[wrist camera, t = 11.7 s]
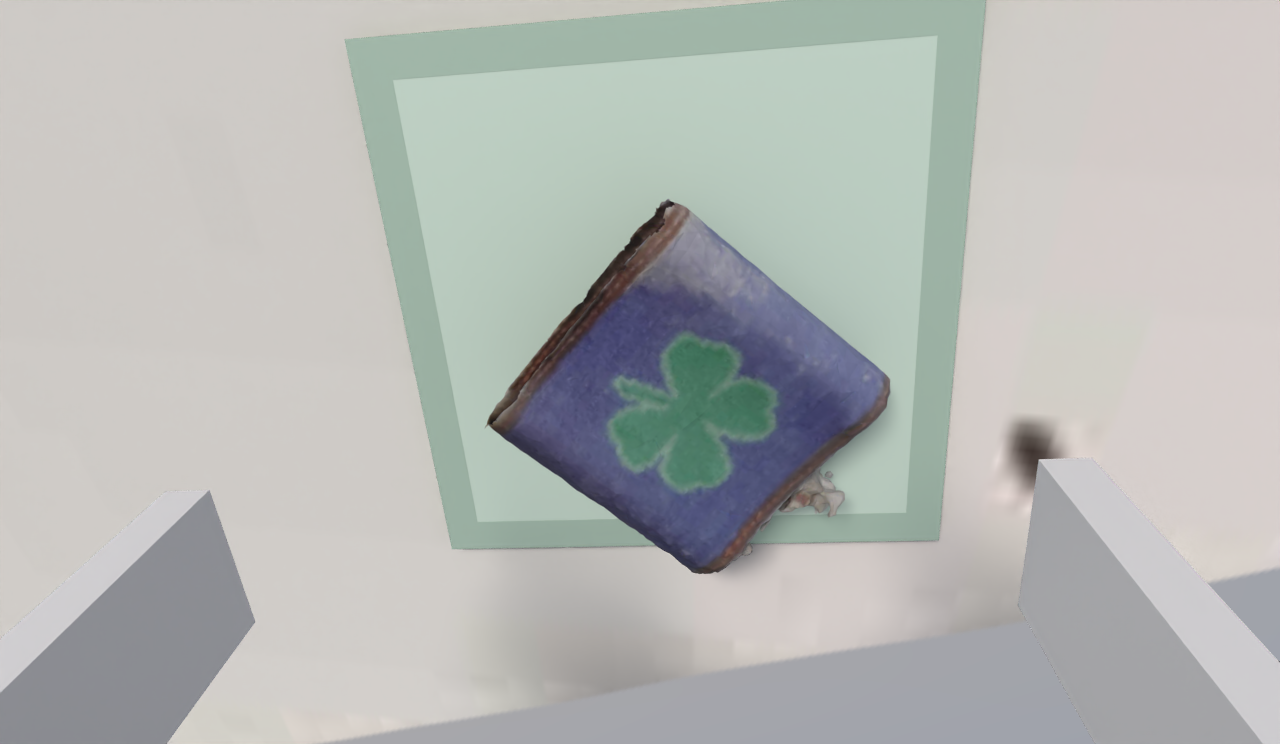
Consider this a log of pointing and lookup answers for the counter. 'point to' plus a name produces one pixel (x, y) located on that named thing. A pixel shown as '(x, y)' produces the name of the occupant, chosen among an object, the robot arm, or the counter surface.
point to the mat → (701, 181)
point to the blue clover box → (692, 395)
